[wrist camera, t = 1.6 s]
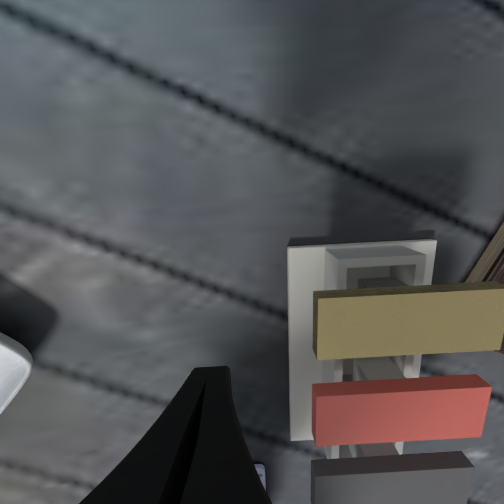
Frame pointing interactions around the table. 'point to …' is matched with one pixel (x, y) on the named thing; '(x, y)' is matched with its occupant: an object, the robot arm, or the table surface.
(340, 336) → the brass plug
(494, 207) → the table surface
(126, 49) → the table surface
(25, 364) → the salad plate
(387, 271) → the panel
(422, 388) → the red plug
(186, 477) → the robot arm
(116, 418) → the table surface
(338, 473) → the grey rectangular block
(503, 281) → the hardcover book
